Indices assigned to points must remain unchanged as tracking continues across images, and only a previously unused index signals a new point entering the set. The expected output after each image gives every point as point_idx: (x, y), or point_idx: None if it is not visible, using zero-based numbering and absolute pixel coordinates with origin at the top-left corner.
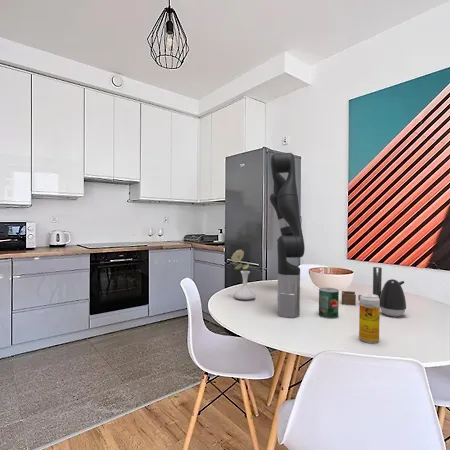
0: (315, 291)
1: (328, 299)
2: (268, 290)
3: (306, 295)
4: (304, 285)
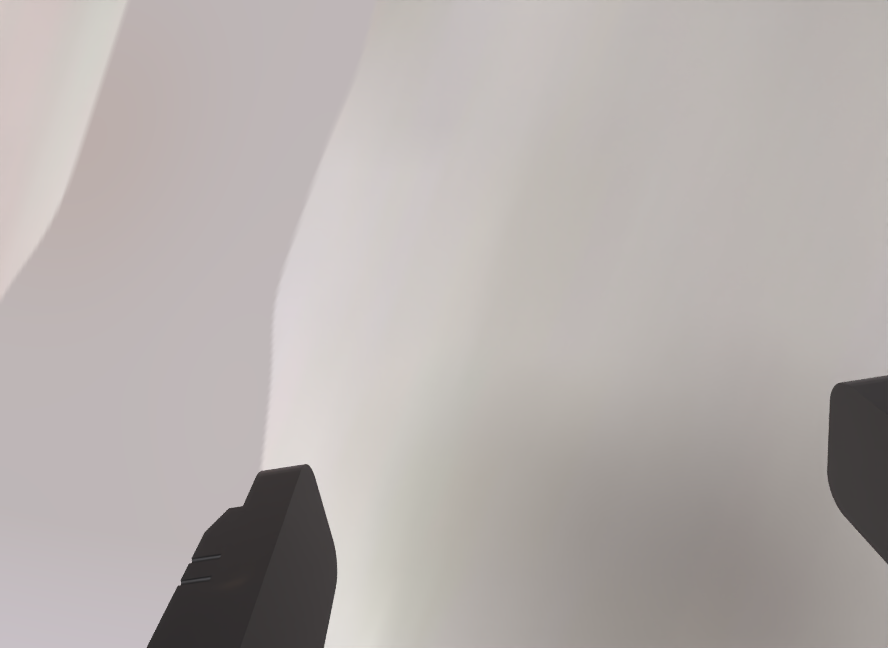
0: (290, 352)
1: None
2: None
3: (457, 168)
4: None
